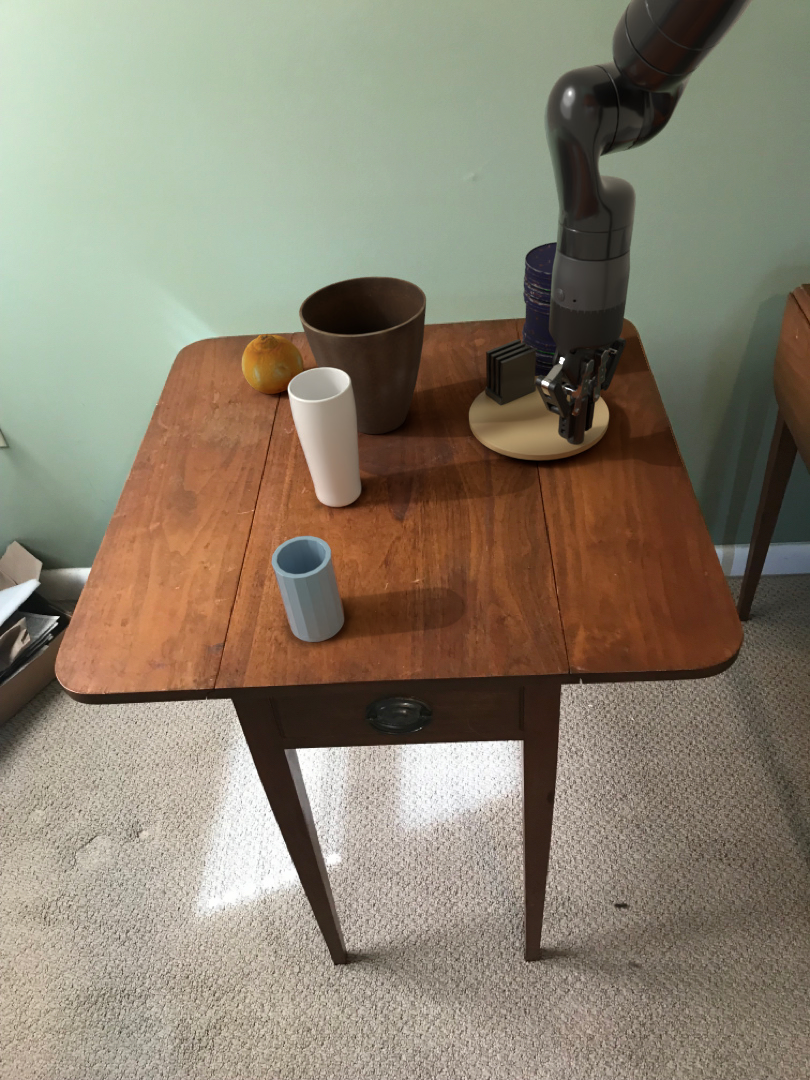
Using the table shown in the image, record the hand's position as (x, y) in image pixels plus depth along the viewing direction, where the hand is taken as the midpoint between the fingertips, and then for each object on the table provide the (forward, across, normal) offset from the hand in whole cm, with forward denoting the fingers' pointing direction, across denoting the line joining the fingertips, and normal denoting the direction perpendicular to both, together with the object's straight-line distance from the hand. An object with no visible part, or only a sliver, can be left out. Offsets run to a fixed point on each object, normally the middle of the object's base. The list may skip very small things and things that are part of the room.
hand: (575, 431), depth 89 cm
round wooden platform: (+2, +2, +7) cm, 7 cm away
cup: (+4, -37, +3) cm, 38 cm away
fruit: (+4, -13, +41) cm, 43 cm away
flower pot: (+4, -10, +24) cm, 26 cm away
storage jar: (+3, +15, +14) cm, 21 cm away
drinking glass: (+4, -23, +16) cm, 28 cm away
